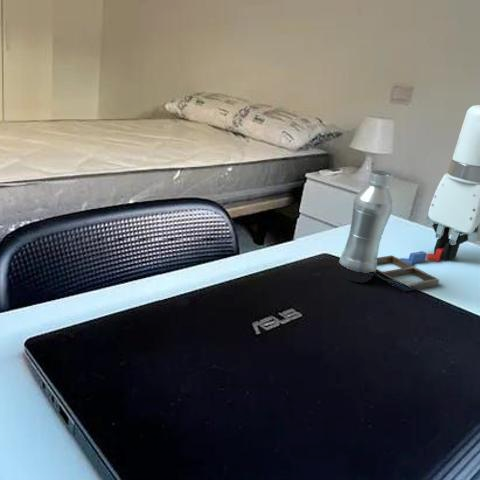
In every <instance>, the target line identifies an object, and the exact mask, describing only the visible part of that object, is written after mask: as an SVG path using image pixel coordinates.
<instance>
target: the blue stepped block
mask: <svg viewBox="0 0 480 480" xmlns="http://www.w3.org/2000/svg"><path fill="white" fill-rule="evenodd" d="M427 254H428V253H427V252H425V251H423V250H421V251H416V252H410V253H409V256H408V258H402V257H401V258H399V259H400V260H402V261H404V262H406V263H408V264H410V265H412V266H414V265H413V264H417V263H423V262H425V261H426V256H427Z"/></svg>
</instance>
